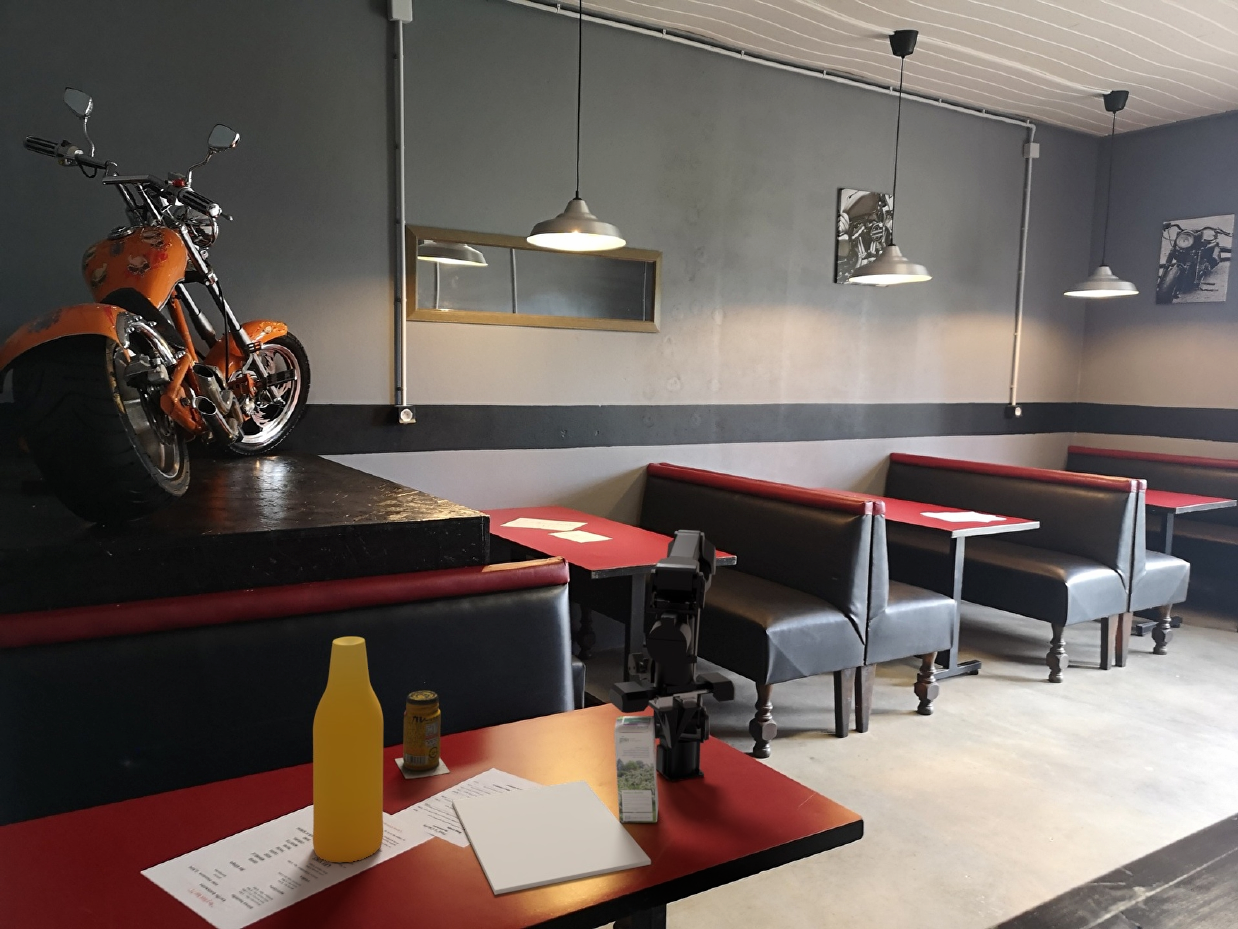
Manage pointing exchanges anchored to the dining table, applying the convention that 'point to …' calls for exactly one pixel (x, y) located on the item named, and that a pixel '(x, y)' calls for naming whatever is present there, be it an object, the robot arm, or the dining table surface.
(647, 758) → the syrup box
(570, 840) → the mat
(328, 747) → the beer bottle
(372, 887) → the dining table surface
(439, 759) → the condiment
